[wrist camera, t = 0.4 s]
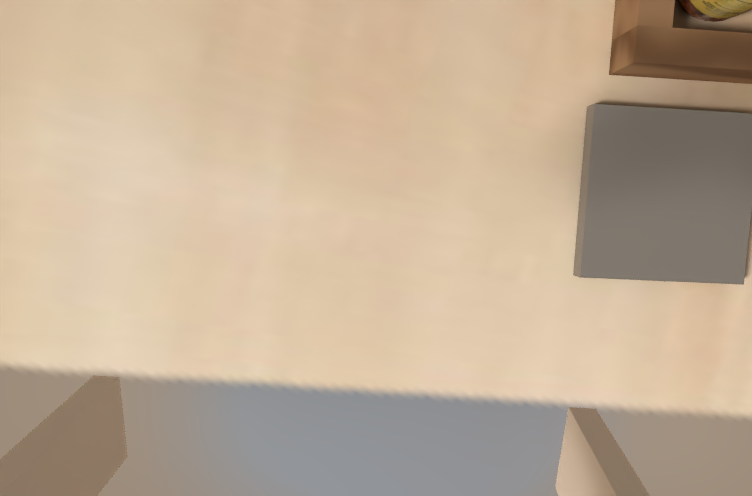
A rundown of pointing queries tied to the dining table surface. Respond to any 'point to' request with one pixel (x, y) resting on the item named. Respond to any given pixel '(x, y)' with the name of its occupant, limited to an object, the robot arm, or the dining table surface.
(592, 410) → the robot arm
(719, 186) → the slate tile
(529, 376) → the dining table surface
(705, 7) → the sauce bottle
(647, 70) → the bottle holder
